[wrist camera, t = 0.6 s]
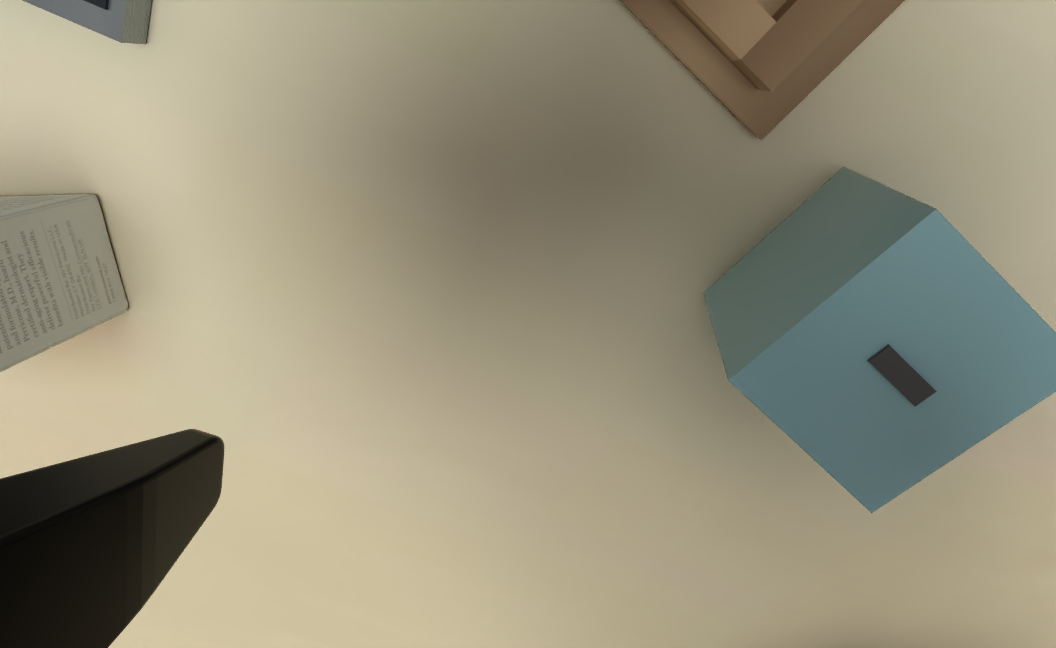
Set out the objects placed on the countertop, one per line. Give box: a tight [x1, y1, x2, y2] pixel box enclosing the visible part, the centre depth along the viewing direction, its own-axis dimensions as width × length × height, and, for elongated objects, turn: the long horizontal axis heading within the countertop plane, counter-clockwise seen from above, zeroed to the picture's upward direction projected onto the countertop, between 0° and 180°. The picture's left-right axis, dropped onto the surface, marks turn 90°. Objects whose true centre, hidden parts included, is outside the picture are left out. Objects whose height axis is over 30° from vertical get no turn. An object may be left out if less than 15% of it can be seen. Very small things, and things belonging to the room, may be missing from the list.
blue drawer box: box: [704, 167, 1056, 513], centre depth 16 cm, size 4×5×6 cm
